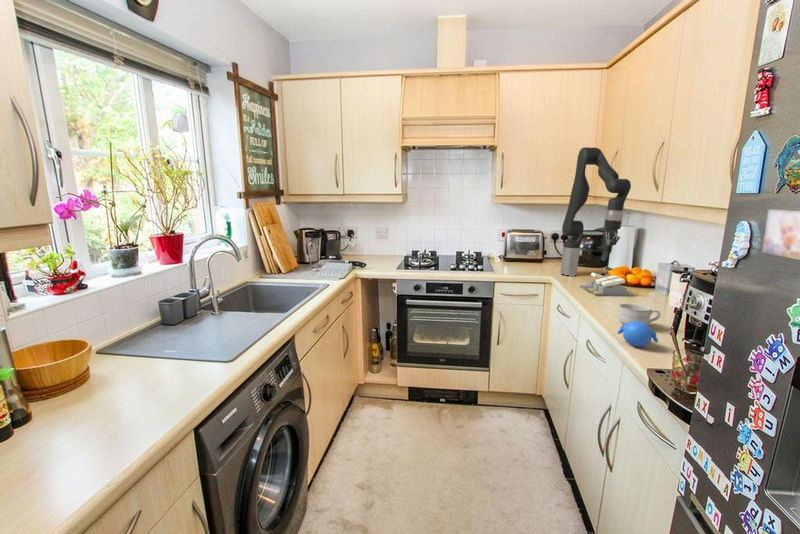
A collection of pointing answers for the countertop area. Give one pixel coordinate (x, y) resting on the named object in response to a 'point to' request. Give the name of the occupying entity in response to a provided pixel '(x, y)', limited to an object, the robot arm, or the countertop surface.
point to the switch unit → (605, 289)
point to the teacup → (636, 313)
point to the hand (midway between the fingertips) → (608, 252)
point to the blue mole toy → (637, 333)
